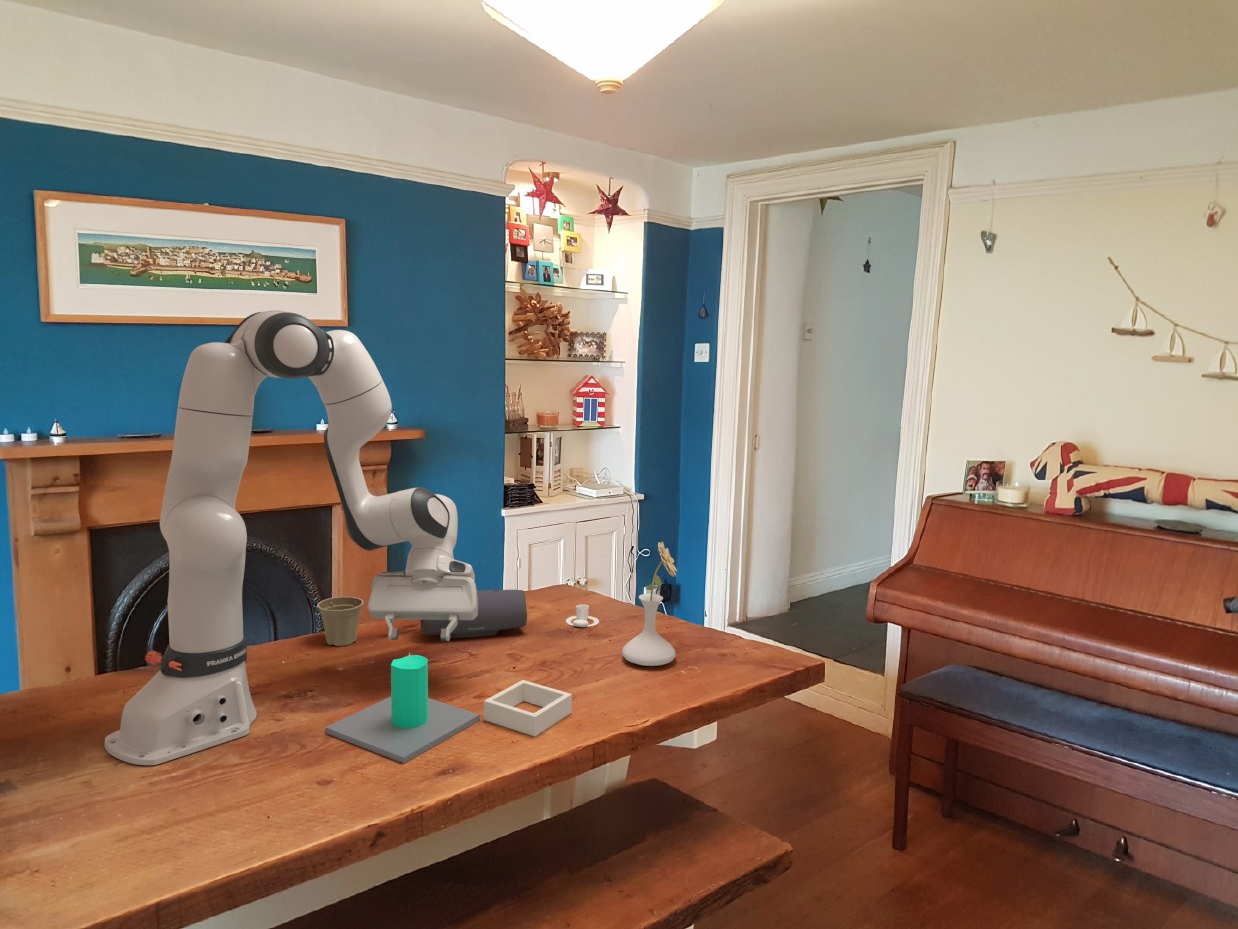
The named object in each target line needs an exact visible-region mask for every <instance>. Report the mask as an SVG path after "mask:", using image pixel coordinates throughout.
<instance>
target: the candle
mask: <svg viewBox="0 0 1238 929" xmlns="http://www.w3.org/2000/svg"><path fill="white" fill-rule="evenodd" d="M428 661H429V660H428V658H426V657H425V656H422V655H419V654H411V653H410V652H409V653H408V655H406V656H404V657H402V658H401V657H400V658H395V659H393V660H392V662H391V664H390V686H391V689H390V690H391V692H390V694H391V695H390V697H391V717H392V723H393V725H394V726H396V727H399V728H414V727H419V726H421V725H423V724H425V723H426V722H427V720H428V698H429V695H428V694H429V679H428V678H429V675H428V674H429V669H428V668H429V667H428V666H429V662H428Z"/></svg>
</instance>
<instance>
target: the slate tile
mask: <svg viewBox="0 0 1238 929" xmlns="http://www.w3.org/2000/svg"><path fill="white" fill-rule="evenodd" d="M480 720H481V715H480V714H479V713H475V712H472V711H469V710H468V709H467V710H466V709H463V708H461V707H460V708H459V707H458V706H455V705H451V704H449V703H446V702H442V701H439V700H436V699H433V698H431V697H428V720H427V722H426V723H425V724H423V725H421V726H419V727H414V728H399V727H396V726H394V725H393V723H392V717H391V696H388V697H387V698H384V699H382V700H381V701H379V702H375V703H374V704H372V705H370V706H367V707H365V708H363V709H361V710H359V711H356V712H355V713H353V714H351V715H347V716H346V717H344V718H342V719H340V720H337V721H335V722H333V723H331V724H329V725H327V726H325V727H324V734H327V735H330V736H332V737H334V738H338V739H340V740H341V741H345V742H348V743H351V744H352V745H354V746H355V745H356V746H357V747H360V748H363V749H366V750H368V751H369V752H374V753H376V754H379V755H381V756H384V757H386V758H389V759H391V760H394V761H396V762H399V763H402V764H405V763H407V762H409V761H410V760H412V759H414V758H416V757H417V756H420V755H421V754H423V753H425V752H427V751H428V750H430V749H432V748H434V747H436V746H437V745H439V744H440V743H442V742H444V741H446V740H447V739H449V738H451V737H453V736H455V735H456V734H458V733H460V732H461V731H464V730H465V729H467V728H469V727H470V726H472V725H475V723H478V722H479V721H480Z"/></svg>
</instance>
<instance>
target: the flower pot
mask: <svg viewBox="0 0 1238 929" xmlns="http://www.w3.org/2000/svg"><path fill="white" fill-rule="evenodd" d="M363 605H364V600H363V599H362V598H359V597H355V596H334V597H328V598H326V599H323V600H321V601H320V602H318V603H317V606H316V607H317V608H318V609H319V614H320V615H321V620H322V624H323V630H324V636H325V640H326V644H328V645H329V646H332V645H334V646H335V647H343V646H349V645H352V644H353V643H355V642H356V641H357V639H358V638H357V637H358V630H359V622H360V614H361V611H362V606H363Z"/></svg>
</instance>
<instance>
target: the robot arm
mask: <svg viewBox="0 0 1238 929" xmlns="http://www.w3.org/2000/svg"><path fill="white" fill-rule="evenodd" d="M267 377H271V378H275V379H276V378H279V379H287V380H289V379H291V380H293V379H294V380H295V379H296V380H297V379H302V378H307V379H309V380H310V381H311V382H312V384H313V385H314V387H315V388H316V391H317V392H318V394H319V397H320V399H321V401H322V403H323V405H324V408H325V410H326V414H327V419H328V421H327V422H328V426H327V428H326V429H325V430H324V432H323V444H324V450H325V453H326V457H327V461H328V464H329V467H330V470H331V474H332V476H333V481H334V483H335V487H336V490H337V492H338V493H337V494H338V495H339V499H340V502H341V506H342V508H343V515H344V516H343V517H344V522H345V529H346V532H347V535H348V537H349V538H350V540H351V541H352V542H353V543H354V544H355V545H357V546H359V547H360V548H361V549H364V550H365V551H369V552H371V551H375V550H379V549H382V548H386V547H388V546H390V545H394V544H395V545H396V544H400V543H405V542H408V543H409V544H411V548H410V550H409V552H408V555H407V560H406V567H405V571H391V572H390V571H382V572H381V573H379V574H377V575H376V576H374V577H373V579H372V582H371V593H370V596H369V599H368V603H367V611H368V613H369V614H370V616H371V618H372V619H375V620H377V619H378V620H385V622H386V624H387V628H388V635H387V636H388V639H389V641H398V640H399V635H400V630H399V628H398V627H394V626H393V625H394V624H395V622H396V620H420V619H422V620H449V621H450V624H449V625H448V626H447V628H446V629H441V634H440V641H442V642H450V640H451V636H450V633H451V632H452V631H453V630H454V629H455V627H456V626H457V625H458V620H474V619H475V618H476V617H477V616H478V595H477V591H478V590H477V584H476V582H475V581H476V579H475V578H476V576H475V572H474V568H473V567H472V564H469V563H467V562H463V561H460V560H457V559H455V558H454V557H455V556H454V549H455V547H456V544H457V539H458V530H459V528H458V526H459V522H458V520H459V518H458V510H457V505H456V504H455V502H454V501H453V500H452V499H451V498H450V497H448V496H446V495H443V494H440V493H436V494H435V493H434V492H432V491H431V490H430V489H428V488H426V487H422V486H419V487H418V486H417V487H412V488H408V489H407V488H406V489H404V490H403V489H402V490H398V491H396V492H392V493H387V494H383V495H379V496H377V495H373V494H372V493H370V491H369V489H368V486H367V483H366V480H365V476H364V472H363V469H362V466H361V462H360V458H359V455H360V454H359V452H360V450H361V448H362V447H363V446H364V445H365V444H367V443H368V442H370V441H371V440H372V439H373V438H374V437H375V436H376V435H378V434H379V433H380V432H381V431H382V430H383V429H384V428H385V426H386V425H387V423H388V421H389V420H390V417H391V413H392V409H393V405H392V401H391V396H390V394H389V391H388V388H387V386H386V384H385V382H384V380H383V378H382V376H381V373H380V372H379V369H378V366H376V364H375V361H374V360H373V359H372V357H371V355H370V353H369V352H368V350H367V349H366V347H365V346H364V344H363V343H362V342H361V340H360V339H359V337H358V336H357V335H356V334H354V333H353V332H351V331H348V330H343V329H334V330H328V331H325V330H324V329H322V328H321V327H319V326H318V325H317V324H316V323H314V322H313V321H311V320H310V319H309V318H307V317H306V316H303V315H301V314H299V313H295V312H288V311H285V310H276V309H274V310H271V309H270V310H265V311H259V312H255V313H252V314H250V315H248V316H247V317H245V318H243V320H241V322H239V324H238V325H237V326H236V327H235V329H234V330H233V331H232V333H230V335H229V336H228V338H227V339H226V340H224V342H221V341H220V342H219V341H217V342H216V341H215V342H214V341H213V342H208V343H204V344H200V345H199V346H197V347H196V348H194V349H193V350H192V351H191V353H190V355H189V358H188V361H187V363H186V367H185V370H184V373H183V377H182V382H181V385H180V389H179V396H178V403H177V409H176V419H175V428H174V438H173V444H172V445H173V446H172V451H171V452H172V453H171V459H170V463H169V464H170V465H169V467H168V473H167V478H166V483H165V488H164V492H163V498H162V506H161V512H160V515H159V516H160V518H159V529H160V532H161V535H162V536H163V538H164V540H165V541H166V544H167V548H168V553H169V557H168V558H169V561H168V562H169V574H168V576H169V577H168V595H167V617H168V619H167V620H168V636H169V640H168V641H169V644H167V647H166V649H165V652H164V654H162V653H161V652H158V651H156V650H150V651H148V652H147V653H146V655H145V658H144V659H145V662H147V663H148V664H151V665H153V666H158V665H160V666H159V670H158V672H156V673H155V675H154V676H152V678H150V680H148V681H147V682H146V684H145V685H144V686H142V688H140V690H138V691H137V693H135V695H132V697H131V698H130V699H129V700H128V701H127V702H126V703H125V705H124V706H123V710H122V714H121V718H120V728H119V729H118V730H116V731H114V732H111V733H109V734H108V735H107V736H105V738H104V746H103V747H104V749H105V751H106V752H107V753H108V754H110V755H111V756H113V757H115V758H116V759H117V760H118V759H119V760H120V761H123V762H126V763H128V764H133V765H138V766H140V765H141V766H156V765H160V764H162V763H163V764H164V763H166V762H169V761H172V760H174V759H175V760H176V759H178V758H182V757H184V756H187V755H190V754H193V753H196V752H199V751H202V750H205V749H208V748H211V747H214V746H218V745H221V744H223V743H227V742H229V741H232V740H236V739H239V738H241V737H244V736H247V735H248V734H249V733H250V732H251V727H250V726H251V725H252V723H253V722H254V721H255V719H256V717H257V714H258V712H257V709H256V707H255V705H254V701H253V700H252V699H253V698H252V695H251V692H250V687H249V682H248V674H247V670H246V669H247V668H246V663H247V659H248V649H247V647H248V646H247V637H246V635H245V634H244V618H243V617H244V616H243V614H244V613H243V584H244V578H245V575H244V574H245V566H246V556H247V554H246V551H247V542H248V536H247V535H248V534H247V527H246V524H245V521H244V519H243V517H242V516H241V515H240V513H239V512H238V511H237V510H236V502H237V498H238V497H237V496H238V491H239V488H240V485H241V480H242V477H243V475H244V474H243V473H244V471H245V468H246V467H247V464H248V460H249V451H250V442H251V435H252V428H253V416H254V407H255V396H256V395H257V392H258V389H259V387H260V385H261V383H262V382H263V381H264V380H265V379H267Z"/></svg>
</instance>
